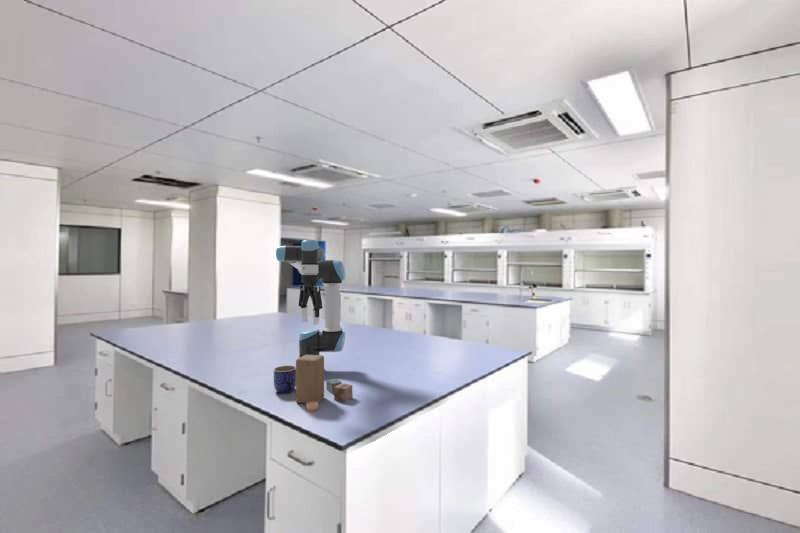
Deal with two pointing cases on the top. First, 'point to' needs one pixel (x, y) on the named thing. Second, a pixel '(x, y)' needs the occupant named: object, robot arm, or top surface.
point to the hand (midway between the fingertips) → (310, 323)
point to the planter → (285, 379)
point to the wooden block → (309, 378)
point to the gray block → (332, 385)
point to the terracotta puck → (312, 406)
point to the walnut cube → (343, 392)
